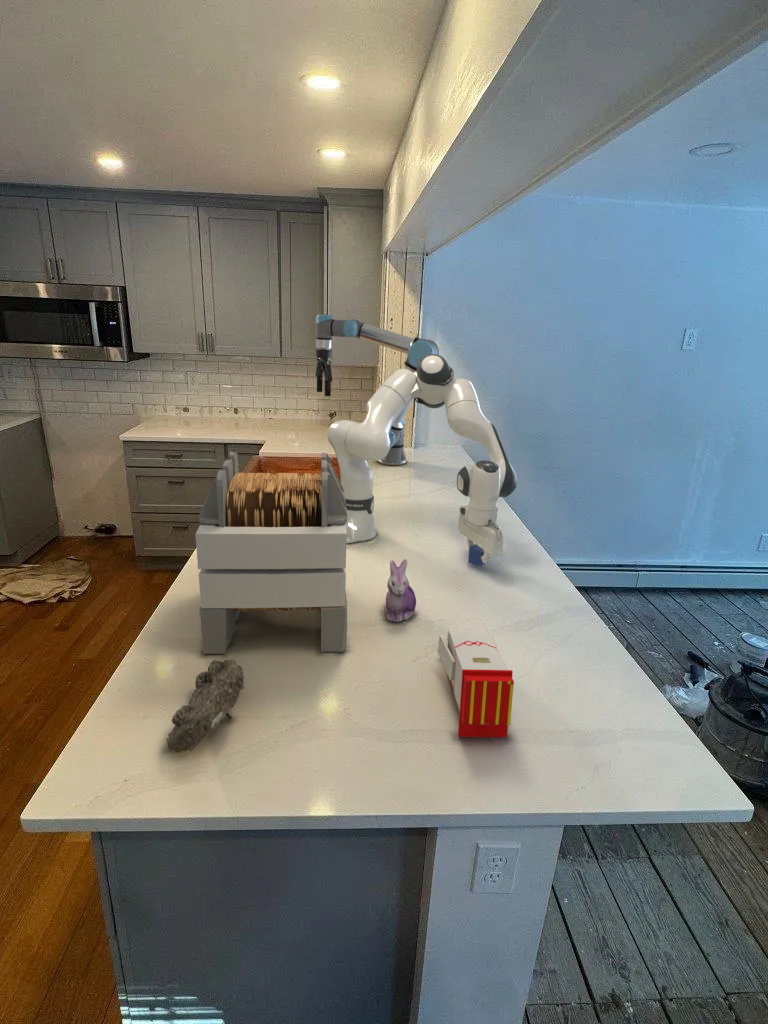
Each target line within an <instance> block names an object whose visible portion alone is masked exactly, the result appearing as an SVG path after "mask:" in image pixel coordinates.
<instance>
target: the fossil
mask: <svg viewBox="0 0 768 1024" xmlns="http://www.w3.org/2000/svg"><path fill="white" fill-rule="evenodd" d="M243 670H244V669H243V667H242V665H240V664H237V662H236V661H235V660H234V659H232V658H231V659H227V658H226V659H224V660H223V661H222V660H217V659H212V660H211V661H210V663H209V665H208V666H207V671H201V672H199V673H198V674H197V675H196V676H195V680H194V684H195V685H194V687H195V689H194V690H193V693H192V694H191V697H190V698H189V700H188V704H184V705H182V706H181V707H180V709H177V710H176V711H175V713H174V715H173V716H172V718H171V723H172V724H173V727H172V730H171V731H170V732H168V734H167V738H166V741H167V742H166V745H167V749H168V750H169V751H173V752H174V753H176V754H178V753H182V752H188V751H189V752H192V751H193V750H195V748H196V747H197V746H199V744H200V743H201V742H203V741H204V740H205V739H206V738H207V737H208V736H209V735H210V734H211V733H212V732H214V730H215V729H217V727H218V726H219V724H220V722H221V721H222V720H223V719H224V718H225V716H226V717H227V719H229V720H233V717H232V715H230V714H229V710H230V709H231V708H234V706H235V704H236V703H237V702H238V699H239V697H240V695H241V693H242V691H243V690H245V689H244V688H245V675H244V671H243Z"/></svg>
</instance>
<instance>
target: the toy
mask: <svg viewBox="0 0 768 1024" xmlns="http://www.w3.org/2000/svg"><path fill="white" fill-rule="evenodd" d="M446 640H447V643H446V641H445V639H444V636H443V635H442V634H439V637H438V646H437V656H438V657H439V659H440V661H441V663H442V666H443V668H444V670H445V672H446V674H447V677H448V679H449V681H450V684H451V687H452V690H453V693H454V697H455V701H456V705H457V708H458V711H459V714H458V715H459V716H458V730H457V731H458V732H457V737H458V738H508V731H509V726H510V725H511V717H512V707H513V697H514V696H513V695H514V684H515V680H514V679H513V673H514V671H513V670H512V669H508V667H507V665H506V662H505V661H504V659H503V658H502V655H501V653H500V651H499V649H498V647H497V643H496V639H495V637H494V635H493V634H491V632H490V631H489V629H467V628H466V629H465V628H463V629H461V628H460V629H459V628H448V630H447V639H446Z"/></svg>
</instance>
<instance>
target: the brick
mask: <svg viewBox="0 0 768 1024" xmlns="http://www.w3.org/2000/svg"><path fill="white" fill-rule="evenodd" d="M483 555H484V550H483V549H482V548H480V547H479V546H478V545H476V544H475V543H474V545H473V546H472V547H471V548H469V551H468V558H467V559H468V560H467V563H468V564H470V565H475V566H478V567H482V568H483V566H484V565H485V564H486V563H483V562H482V561H481V556H483Z"/></svg>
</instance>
